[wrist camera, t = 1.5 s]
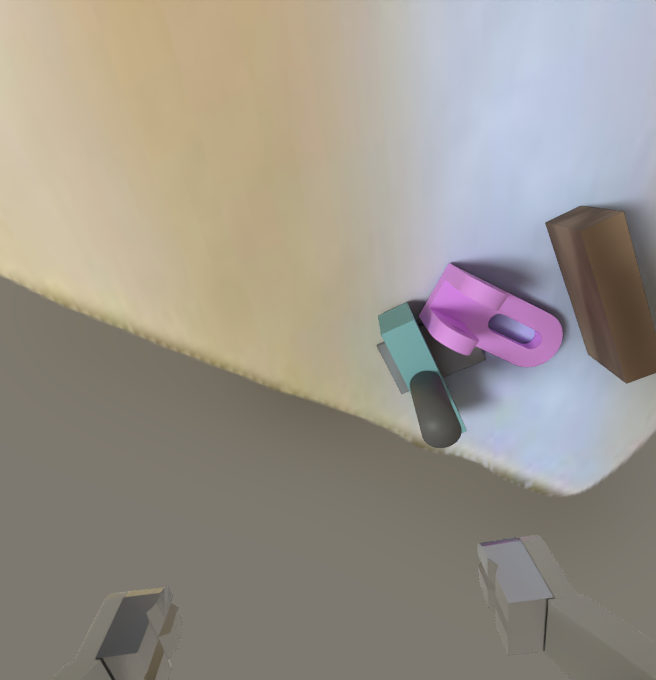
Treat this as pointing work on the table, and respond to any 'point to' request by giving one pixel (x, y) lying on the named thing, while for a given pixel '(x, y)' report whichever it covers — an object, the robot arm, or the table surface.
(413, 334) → the clamp jaw
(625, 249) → the base
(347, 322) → the table surface
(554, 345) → the bracket
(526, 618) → the robot arm
